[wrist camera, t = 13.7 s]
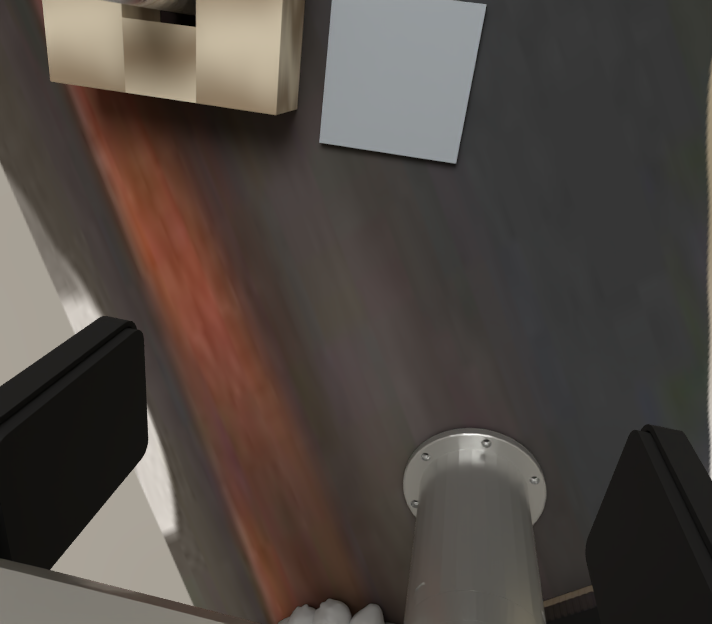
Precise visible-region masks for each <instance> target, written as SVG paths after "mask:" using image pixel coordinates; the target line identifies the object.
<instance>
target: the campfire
mask: <svg viewBox="0 0 712 624" xmlns="http://www.w3.org/2000/svg"><path fill="white" fill-rule="evenodd" d="M278 624H396V623H390V622H387V623H385V622H384V618H383V613H382V610H381V608H380V607H379V606H378V605H377V604H369V605H367V606H366V607H365V608H363V609H362V610H360V611H359V612H357V613H356V614H355V615H354V616H353V617H352V616H351V612H350V610H349V608H348V606H347V605H346V604H344V603H343V602H341V601H338V600H333V599H327V600H326V602H322V603H321V604H320V608H318V609H317V610H316V609H315V608H313V607H309V606H308V605H307V604H305V605H304V606H302V607H300V606H298V607H297V608H296V609H295V610H294V611H293V613H292V614H291V616H290V617H287V618H285V619H283V620H282V621H280V622H279V623H278Z"/></svg>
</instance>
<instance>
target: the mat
mask: <svg viewBox="0 0 712 624" xmlns="http://www.w3.org/2000/svg"><path fill="white" fill-rule="evenodd" d="M485 10H486V4H478V3H470V2H462V1H453V0H332V7H331V18H330V30H329V41H328V52H327V63H326V74H325V85H324V96H323V107H322V119H321V130H320V141H319V143H325V144H332V145H338V146H345V147H351V148H358V149H364V150H371V151H377V152H384V153H390V154H397V155H403V156H410V157H416V158H422V159H429V160H435V161H442V162H448V163H455V164H456V161H457V156H458V151H459V145H460V140H461V135H462V130H463V125H464V119H465V114H466V109H467V104H468V99H469V93H470V88H471V83H472V78H473V73H474V67H475V62H476V57H477V52H478V47H479V41H480V36H481V31H482V26H483V21H484V15H485Z"/></svg>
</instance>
